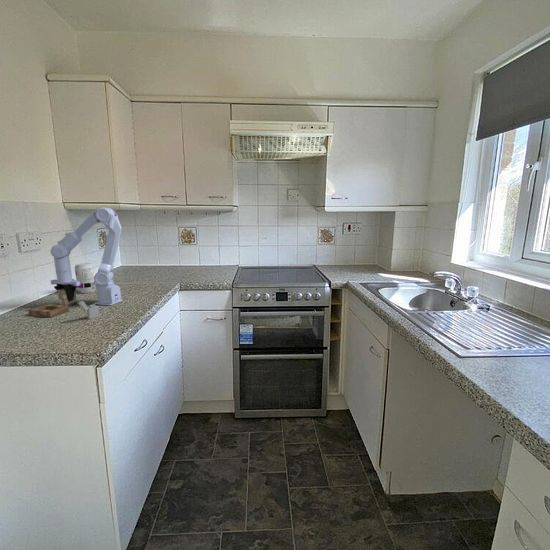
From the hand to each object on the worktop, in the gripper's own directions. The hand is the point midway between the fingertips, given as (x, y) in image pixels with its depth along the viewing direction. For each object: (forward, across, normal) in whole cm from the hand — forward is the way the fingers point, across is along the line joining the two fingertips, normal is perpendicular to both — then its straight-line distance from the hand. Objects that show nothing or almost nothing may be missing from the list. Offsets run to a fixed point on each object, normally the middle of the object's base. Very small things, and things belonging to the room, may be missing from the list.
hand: (67, 300), depth 141 cm
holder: (+2, -2, +11) cm, 11 cm away
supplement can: (+3, +12, -22) cm, 25 cm away
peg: (+2, 0, 0) cm, 2 cm away
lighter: (+3, -24, +12) cm, 27 cm away
